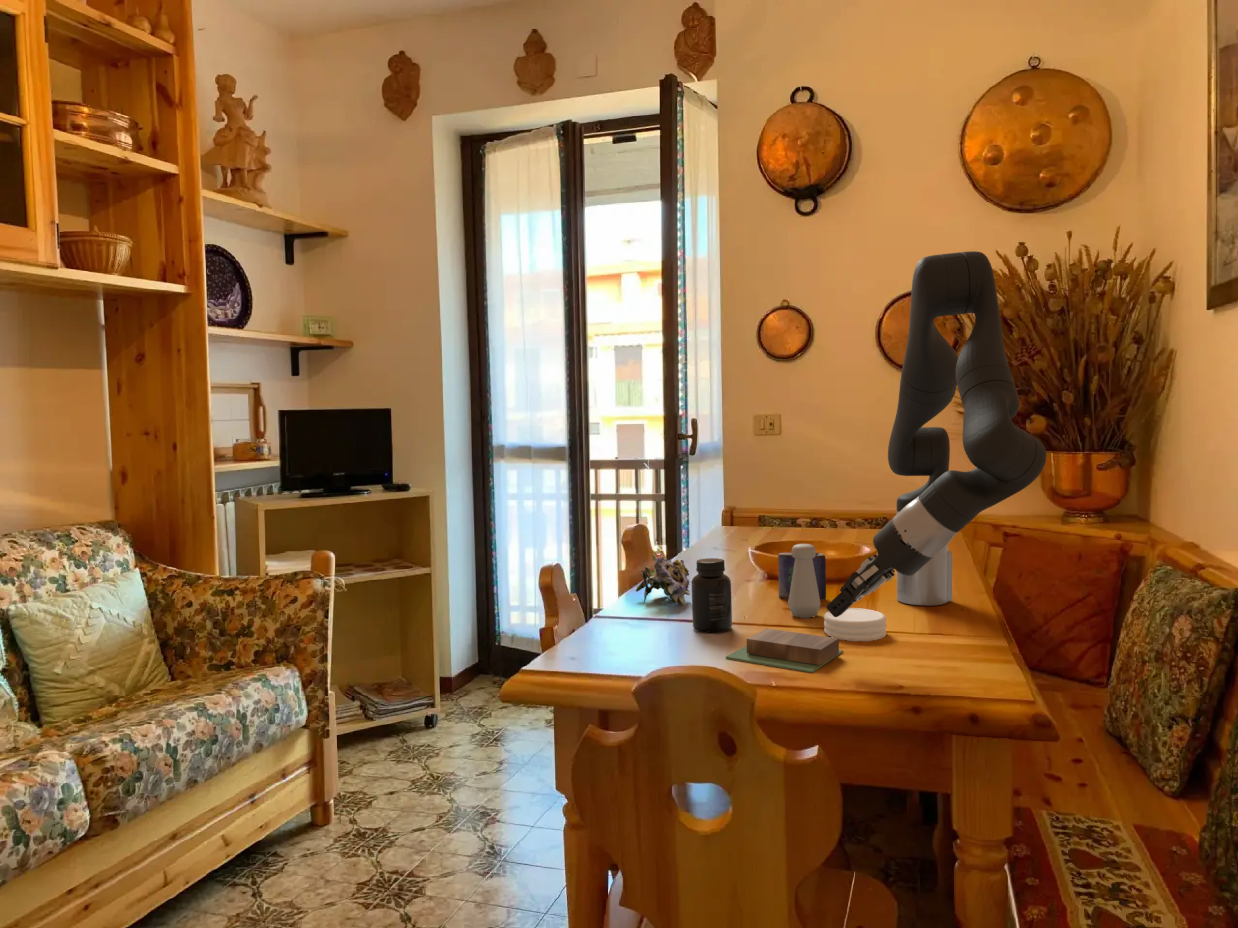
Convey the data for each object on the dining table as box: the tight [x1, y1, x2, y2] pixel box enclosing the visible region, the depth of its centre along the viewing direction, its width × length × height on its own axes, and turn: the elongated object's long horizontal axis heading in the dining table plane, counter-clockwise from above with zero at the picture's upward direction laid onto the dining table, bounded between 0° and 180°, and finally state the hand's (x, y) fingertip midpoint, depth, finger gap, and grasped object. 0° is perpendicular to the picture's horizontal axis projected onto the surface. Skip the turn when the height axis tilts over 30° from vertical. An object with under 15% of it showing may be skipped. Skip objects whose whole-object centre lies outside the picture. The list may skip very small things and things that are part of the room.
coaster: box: [823, 607, 887, 642], centre depth 145 cm, size 10×10×4 cm
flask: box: [777, 551, 827, 601], centre depth 171 cm, size 9×3×11 cm, turn 71°
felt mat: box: [725, 645, 844, 674], centre depth 133 cm, size 14×12×1 cm
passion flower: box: [635, 553, 691, 606], centre depth 171 cm, size 11×11×12 cm
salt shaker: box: [787, 543, 821, 619], centre depth 157 cm, size 6×6×13 cm
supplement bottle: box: [691, 557, 733, 634], centre depth 150 cm, size 7×7×12 cm
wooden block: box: [746, 628, 840, 665], centre depth 133 cm, size 2×7×12 cm
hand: (832, 611), depth 128 cm, fingers closed
